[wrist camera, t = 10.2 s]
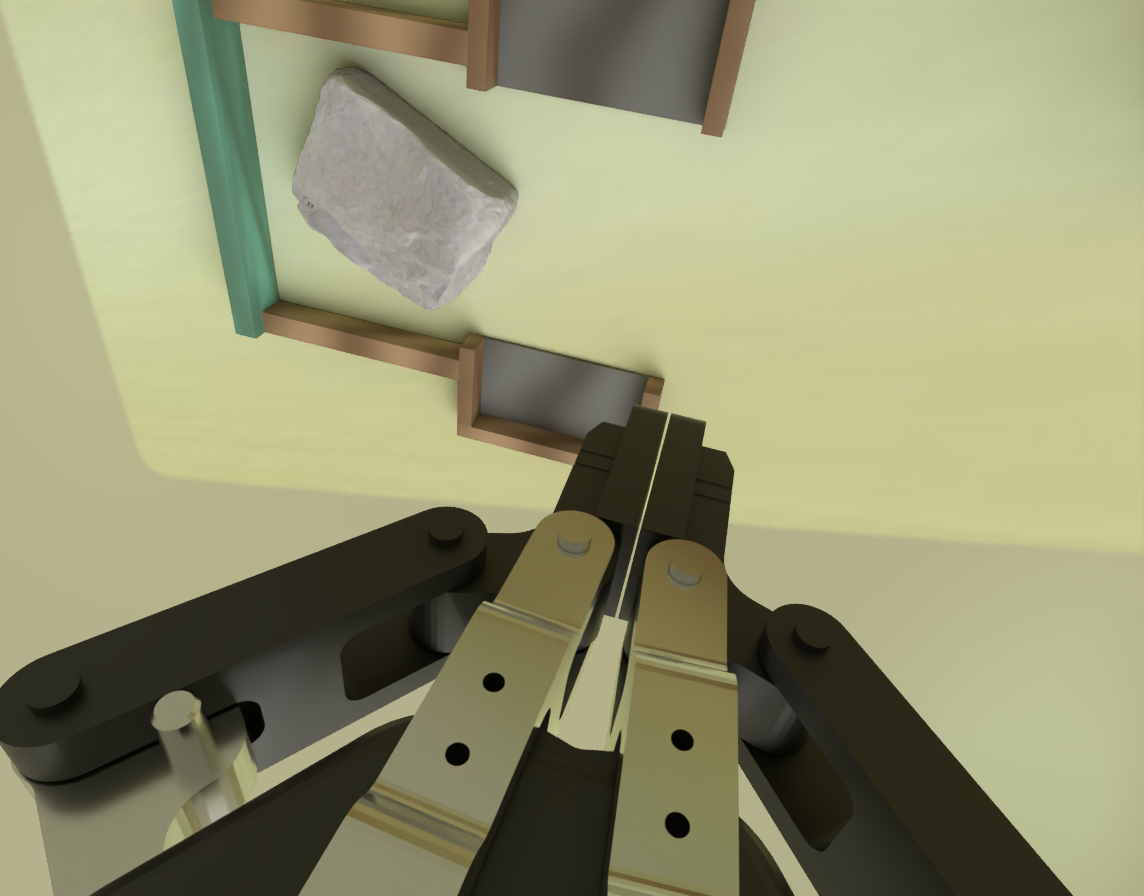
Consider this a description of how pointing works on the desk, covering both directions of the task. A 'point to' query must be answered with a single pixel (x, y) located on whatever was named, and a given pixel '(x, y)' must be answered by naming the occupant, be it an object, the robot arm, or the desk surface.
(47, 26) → the desk surface
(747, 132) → the desk surface
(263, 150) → the desk surface
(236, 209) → the trap lane
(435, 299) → the stone block
